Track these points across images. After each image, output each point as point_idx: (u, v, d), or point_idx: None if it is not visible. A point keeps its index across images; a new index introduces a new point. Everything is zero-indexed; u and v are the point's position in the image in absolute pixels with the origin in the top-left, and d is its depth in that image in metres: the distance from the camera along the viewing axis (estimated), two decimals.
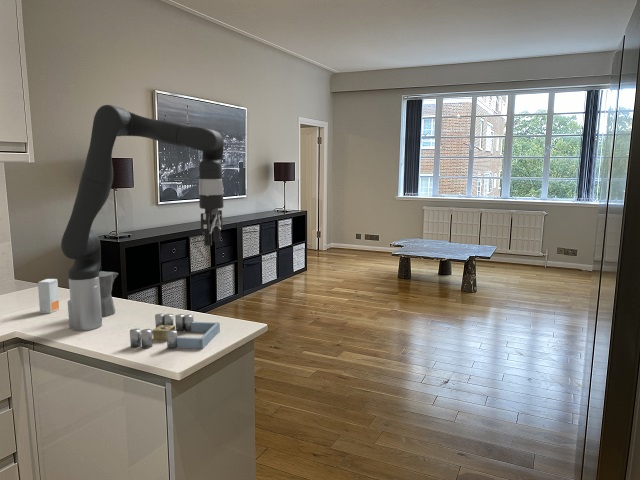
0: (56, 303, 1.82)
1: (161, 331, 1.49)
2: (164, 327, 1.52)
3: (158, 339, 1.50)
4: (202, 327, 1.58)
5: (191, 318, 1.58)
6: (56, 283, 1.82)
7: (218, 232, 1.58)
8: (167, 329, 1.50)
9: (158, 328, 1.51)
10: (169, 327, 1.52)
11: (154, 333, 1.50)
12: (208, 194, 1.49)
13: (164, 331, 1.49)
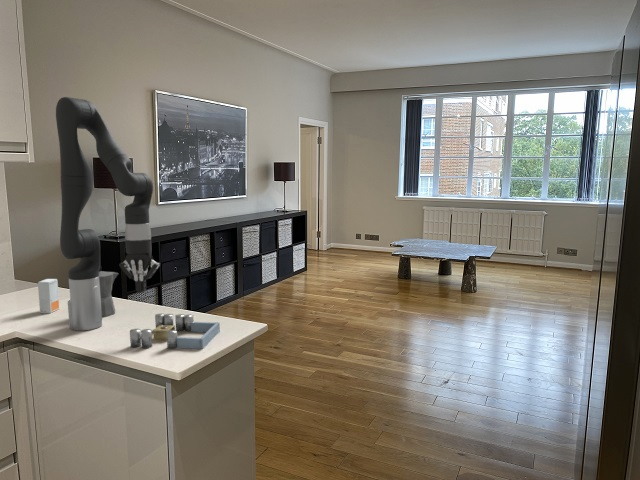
0: (56, 303, 1.82)
1: (162, 331, 1.49)
2: (164, 327, 1.52)
3: (158, 339, 1.50)
4: (202, 327, 1.58)
5: (191, 318, 1.58)
6: (56, 283, 1.82)
7: None
8: (167, 329, 1.50)
9: (158, 328, 1.51)
10: (169, 327, 1.52)
11: (154, 333, 1.50)
12: (150, 238, 1.49)
13: (164, 331, 1.49)
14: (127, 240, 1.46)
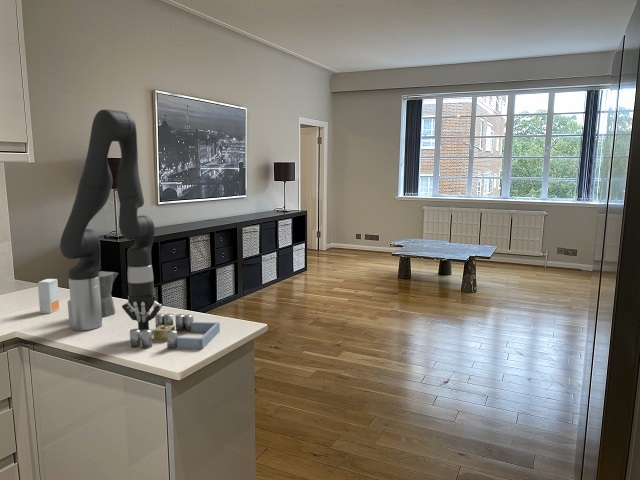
0: (56, 303, 1.82)
1: (162, 331, 1.49)
2: (164, 327, 1.52)
3: (158, 339, 1.50)
4: (202, 327, 1.58)
5: (191, 318, 1.58)
6: (56, 283, 1.82)
7: None
8: (167, 329, 1.50)
9: (158, 328, 1.51)
10: (169, 327, 1.52)
11: (154, 333, 1.50)
12: (152, 279, 1.50)
13: (165, 331, 1.49)
14: (130, 283, 1.47)
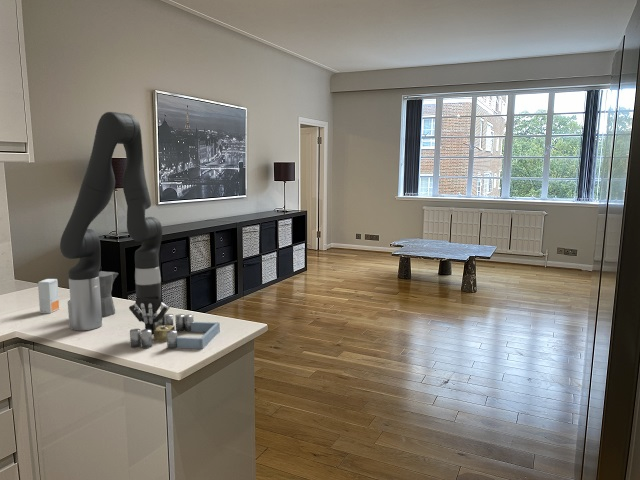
0: (56, 303, 1.82)
1: (162, 331, 1.49)
2: (164, 327, 1.52)
3: (158, 339, 1.50)
4: (202, 327, 1.58)
5: (191, 318, 1.58)
6: (56, 283, 1.82)
7: None
8: (168, 329, 1.50)
9: (158, 328, 1.51)
10: (169, 327, 1.52)
11: (155, 333, 1.50)
12: (160, 281, 1.50)
13: (165, 331, 1.49)
14: (137, 284, 1.47)
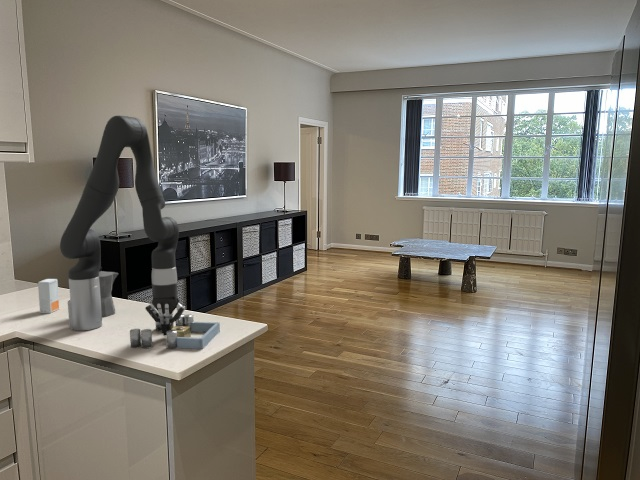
0: (56, 303, 1.82)
1: (177, 332, 1.48)
2: (179, 328, 1.51)
3: None
4: (202, 327, 1.58)
5: (191, 318, 1.58)
6: (56, 283, 1.82)
7: None
8: (183, 330, 1.49)
9: (173, 329, 1.50)
10: (184, 328, 1.51)
11: None
12: (176, 281, 1.50)
13: (180, 332, 1.48)
14: (154, 284, 1.47)
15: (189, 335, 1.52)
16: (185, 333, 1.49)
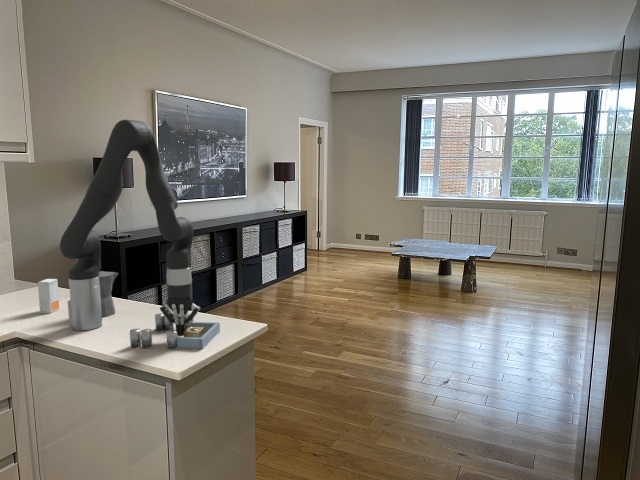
0: (56, 303, 1.82)
1: (192, 333, 1.48)
2: (194, 329, 1.50)
3: None
4: None
5: None
6: (56, 283, 1.82)
7: None
8: (197, 331, 1.49)
9: (188, 330, 1.50)
10: (199, 329, 1.51)
11: (184, 335, 1.48)
12: (191, 282, 1.49)
13: (195, 333, 1.48)
14: (169, 285, 1.46)
15: None
16: (199, 334, 1.48)
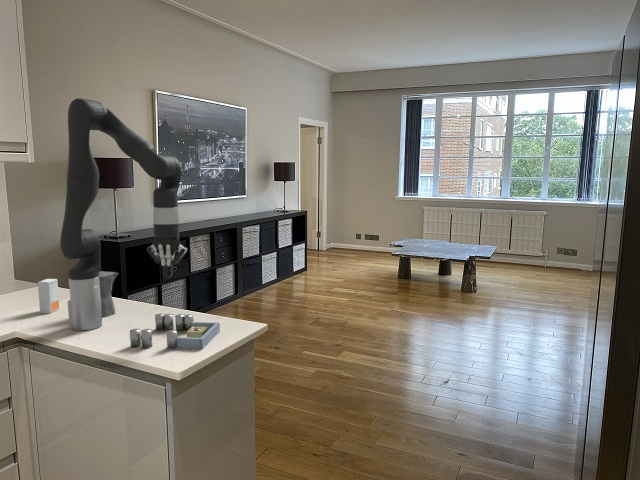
0: (56, 303, 1.82)
1: (195, 333, 1.48)
2: (197, 329, 1.50)
3: None
4: None
5: (191, 318, 1.58)
6: (56, 283, 1.82)
7: None
8: (201, 331, 1.49)
9: (191, 330, 1.50)
10: (202, 328, 1.51)
11: (187, 335, 1.48)
12: (178, 222, 1.47)
13: (198, 333, 1.48)
14: (155, 224, 1.44)
15: None
16: (203, 333, 1.48)
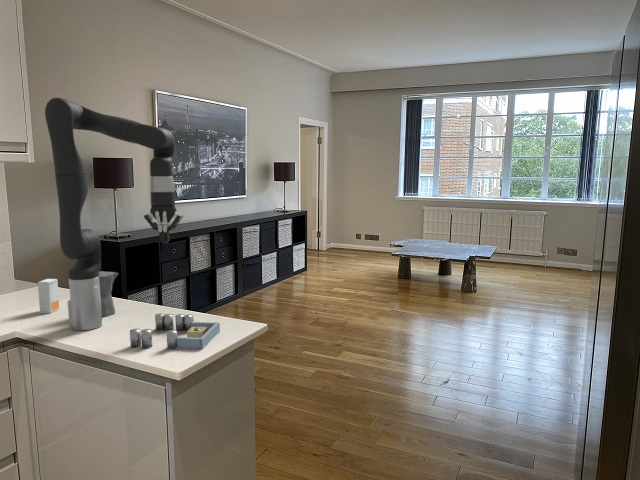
0: (56, 303, 1.82)
1: (195, 333, 1.48)
2: (197, 329, 1.50)
3: None
4: None
5: (191, 318, 1.58)
6: (56, 283, 1.82)
7: None
8: (201, 330, 1.49)
9: (191, 330, 1.50)
10: (202, 328, 1.51)
11: (188, 335, 1.48)
12: (173, 191, 1.56)
13: (198, 333, 1.48)
14: (152, 192, 1.53)
15: None
16: (203, 333, 1.48)
